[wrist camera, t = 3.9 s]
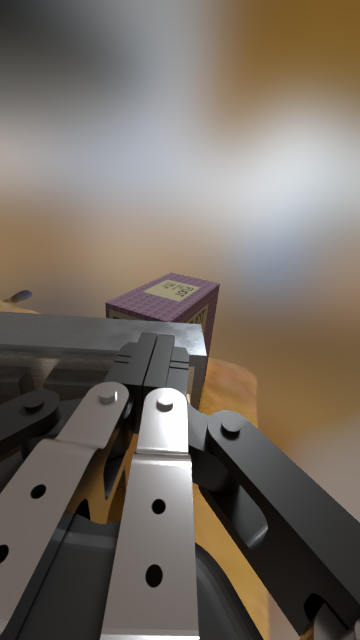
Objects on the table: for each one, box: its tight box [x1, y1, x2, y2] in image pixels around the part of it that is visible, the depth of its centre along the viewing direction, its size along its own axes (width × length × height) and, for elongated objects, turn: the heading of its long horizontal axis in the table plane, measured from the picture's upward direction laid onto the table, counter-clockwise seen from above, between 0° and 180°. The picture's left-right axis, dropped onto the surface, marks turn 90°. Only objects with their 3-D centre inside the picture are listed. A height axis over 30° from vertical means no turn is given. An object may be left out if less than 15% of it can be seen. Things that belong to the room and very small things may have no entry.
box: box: [105, 273, 220, 383], centre depth 41 cm, size 17×9×20 cm, turn 153°
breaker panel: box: [0, 312, 207, 488], centre depth 28 cm, size 22×8×20 cm, turn 91°
